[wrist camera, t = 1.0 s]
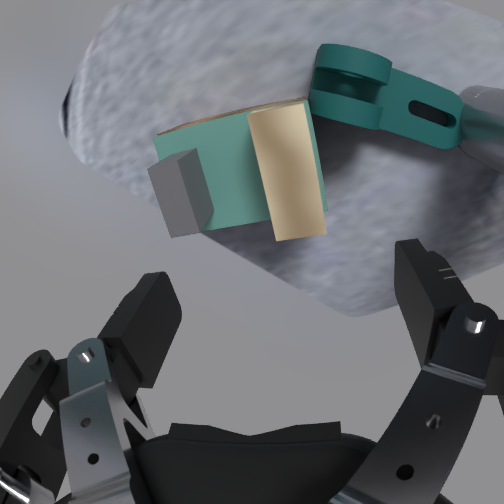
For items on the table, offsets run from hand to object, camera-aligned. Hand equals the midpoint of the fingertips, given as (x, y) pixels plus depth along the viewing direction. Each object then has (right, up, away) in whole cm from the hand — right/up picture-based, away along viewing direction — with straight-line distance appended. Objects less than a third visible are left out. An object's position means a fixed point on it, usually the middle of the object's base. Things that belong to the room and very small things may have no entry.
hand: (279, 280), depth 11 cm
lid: (-2, +8, +18) cm, 20 cm away
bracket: (+14, +17, +19) cm, 29 cm away
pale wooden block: (+2, +9, +16) cm, 18 cm away
